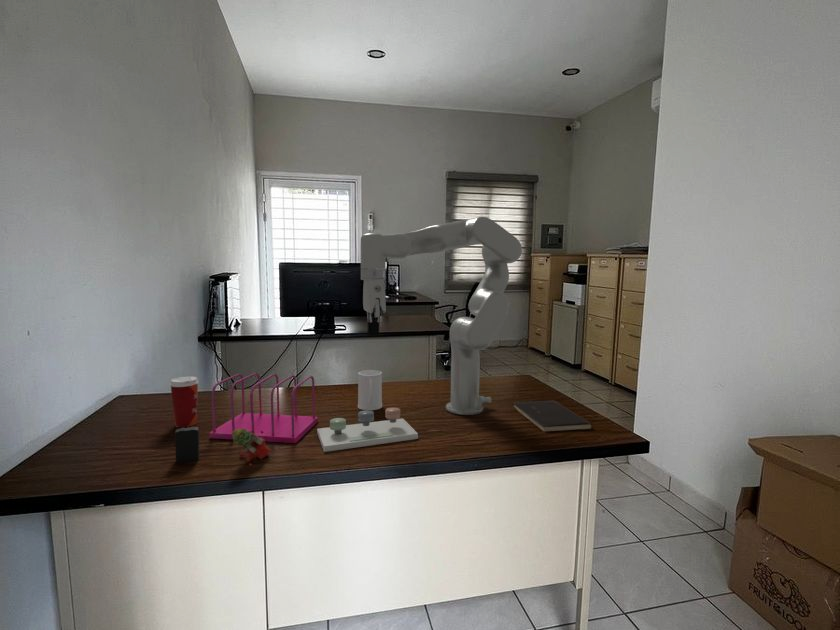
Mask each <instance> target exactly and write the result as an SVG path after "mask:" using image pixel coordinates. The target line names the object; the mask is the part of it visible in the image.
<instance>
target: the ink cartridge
mask: <svg viewBox="0 0 840 630" xmlns="http://www.w3.org/2000/svg"><path fill="white" fill-rule="evenodd" d="M174 434H175V435H174V437H175V438H174V439H175V441H174V442H175V463H177V464H181V463H182V464H183V463H189V462H196V461H199V459H200V429H199V427H198V426H191V427H187V428H177V429H175V432H174Z"/></svg>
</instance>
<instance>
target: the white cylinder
mask: <svg viewBox="0 0 840 630" xmlns="http://www.w3.org/2000/svg"><path fill="white" fill-rule="evenodd" d="M357 377H358V379H357V383H358V385H357V386H358V387H357V389H358V390H357V392H358V395H357V399H358V401H357V402H358V403H357V408H358V409H360V410H361V411H365V410H368V411H375V410H380V409H381V408H383V399H382V398H383V395H382V394H383V392H382V391H383V390H382V389H383V380H382V379H383V372H382V371H380V370H378V369H377V370H376V369H365V370H361V371H359V372H357Z"/></svg>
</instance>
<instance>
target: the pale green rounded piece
mask: <svg viewBox="0 0 840 630" xmlns="http://www.w3.org/2000/svg"><path fill="white" fill-rule="evenodd" d="M346 425H347V419H346V418H343V417H335V418H331V419H330V420H329V427H330V429H331V430H334V433H335V434H341V433H342V430H343V429H345V428H346Z"/></svg>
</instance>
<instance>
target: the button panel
mask: <svg viewBox="0 0 840 630" xmlns="http://www.w3.org/2000/svg"><path fill="white" fill-rule="evenodd" d="M316 434H317V436H318V440H319V442H320V445H321V448H322V450H323V452H324V453H325V452H326V453H327V452H332V451H333V452H334V451H339V450H347V449H353V448H354V449H355V448H361V447H368V446H376V445H382V444H390V443H397V442H403V441H411V440H412V441H413V440H417V439H419V433H418V432H417V431H416V430H415V429H414V428H413V427H412V426H411V425H410V424H409V423H408V422H407V421H406V420H405V419H404V418H398V419H396V422H395V423H391V422H389V419H387V420H379V421H372V422H370V425H369V426H363V422H360V423H354V424H346V428H345V429H343V430H342V433H341V434H335V433H334V430H331V429H330V426H329V427H321V428H317V429H316Z"/></svg>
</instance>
